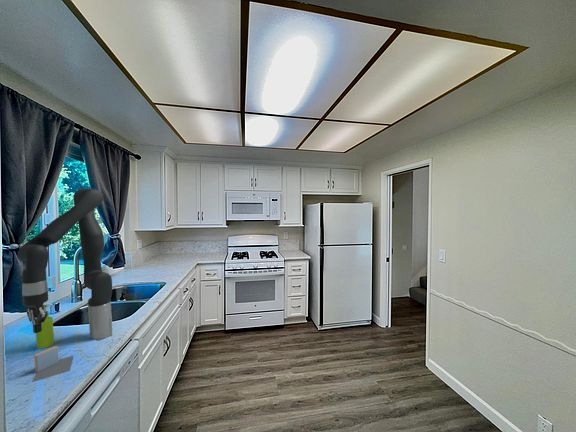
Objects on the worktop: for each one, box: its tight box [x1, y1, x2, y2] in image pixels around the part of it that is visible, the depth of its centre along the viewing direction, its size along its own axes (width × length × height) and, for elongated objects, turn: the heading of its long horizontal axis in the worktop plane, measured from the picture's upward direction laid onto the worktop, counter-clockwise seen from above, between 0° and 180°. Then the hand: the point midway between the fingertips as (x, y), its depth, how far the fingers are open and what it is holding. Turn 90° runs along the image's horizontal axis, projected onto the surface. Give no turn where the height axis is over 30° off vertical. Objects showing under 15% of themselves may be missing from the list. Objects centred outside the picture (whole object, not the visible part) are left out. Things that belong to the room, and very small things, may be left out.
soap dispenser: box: [35, 304, 55, 350], centre depth 118 cm, size 6×7×20 cm
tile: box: [33, 345, 59, 373], centre depth 103 cm, size 2×7×7 cm, turn 155°
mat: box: [31, 355, 74, 383], centre depth 103 cm, size 11×12×1 cm
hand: (37, 332), depth 105 cm, fingers closed
